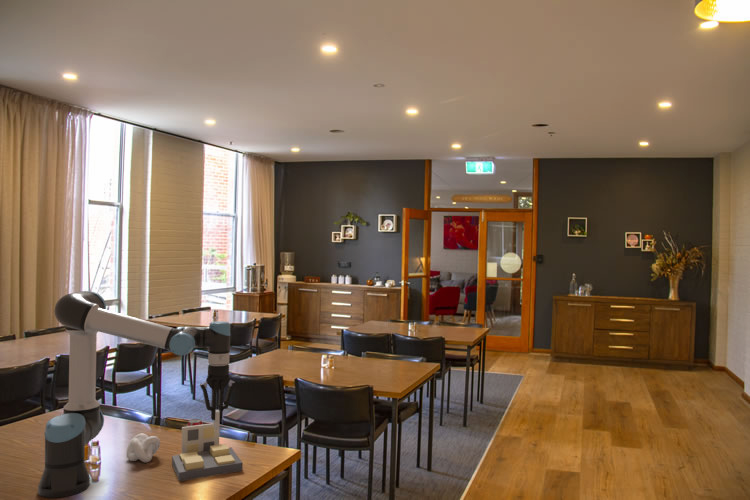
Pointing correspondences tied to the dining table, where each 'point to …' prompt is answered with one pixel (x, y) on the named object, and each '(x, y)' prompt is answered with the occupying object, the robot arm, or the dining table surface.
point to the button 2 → (193, 462)
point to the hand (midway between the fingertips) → (216, 428)
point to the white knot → (142, 447)
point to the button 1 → (187, 455)
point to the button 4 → (224, 460)
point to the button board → (203, 453)
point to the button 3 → (219, 450)
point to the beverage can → (194, 422)
